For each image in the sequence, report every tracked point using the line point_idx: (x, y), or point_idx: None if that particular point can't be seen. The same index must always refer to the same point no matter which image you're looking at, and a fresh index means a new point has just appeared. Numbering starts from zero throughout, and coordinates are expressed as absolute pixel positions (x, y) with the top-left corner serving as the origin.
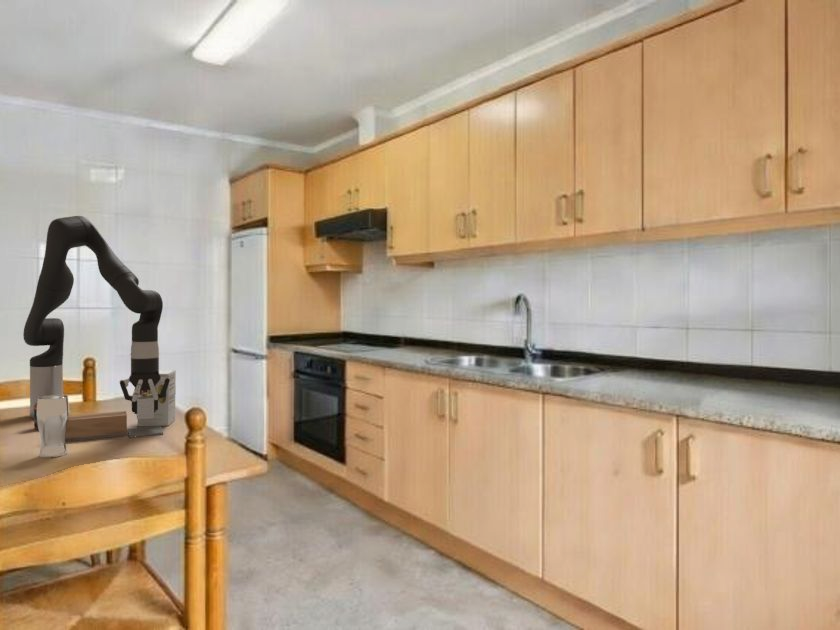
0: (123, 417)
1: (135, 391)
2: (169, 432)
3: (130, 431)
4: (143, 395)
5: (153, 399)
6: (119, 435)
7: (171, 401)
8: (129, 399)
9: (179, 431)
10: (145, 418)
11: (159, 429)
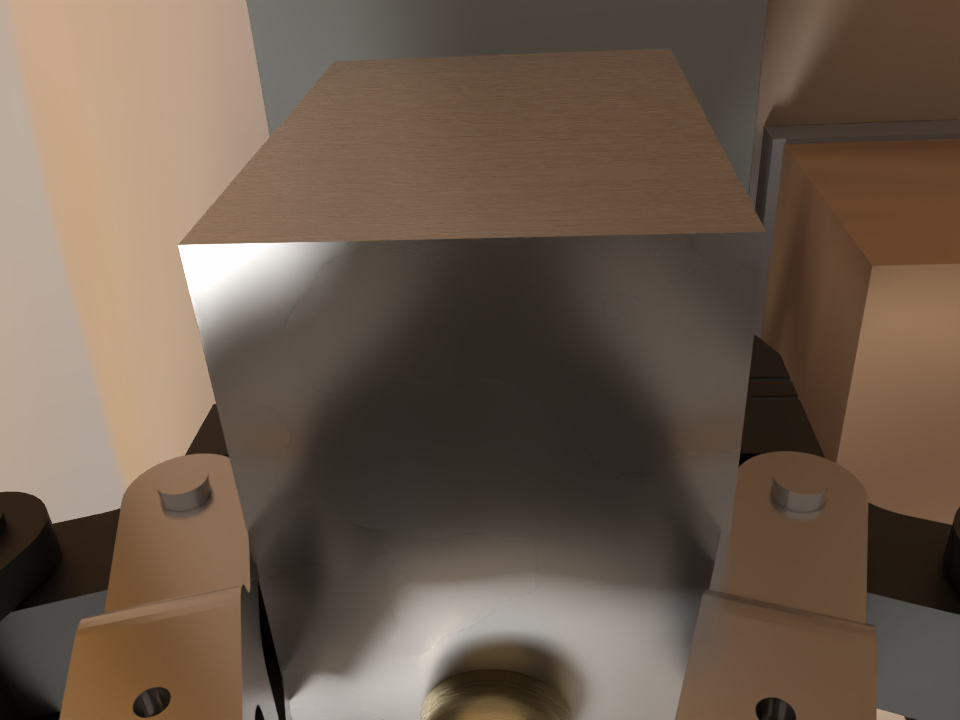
0: (922, 249)
1: (845, 673)
2: (172, 69)
3: None
4: (528, 691)
5: (212, 224)
6: (882, 126)
7: None
8: (927, 536)
9: (32, 74)
10: (503, 59)
11: None
